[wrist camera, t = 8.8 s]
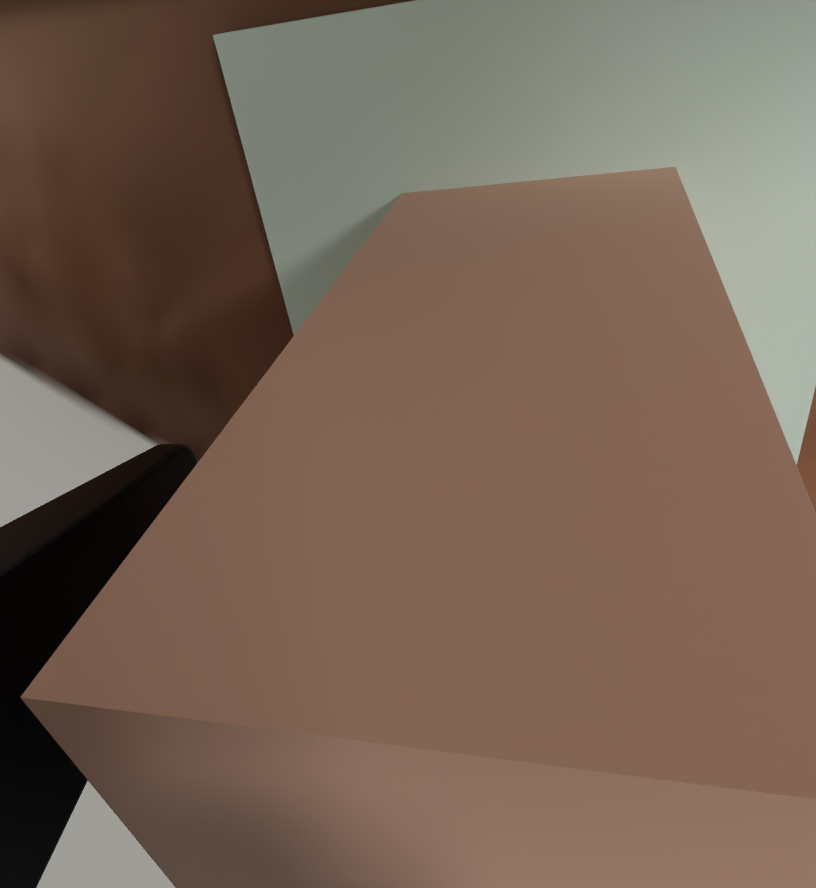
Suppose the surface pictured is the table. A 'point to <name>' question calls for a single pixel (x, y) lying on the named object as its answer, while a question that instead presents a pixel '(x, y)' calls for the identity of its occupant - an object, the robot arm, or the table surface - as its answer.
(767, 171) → the mat
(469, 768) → the peg
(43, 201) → the table surface
